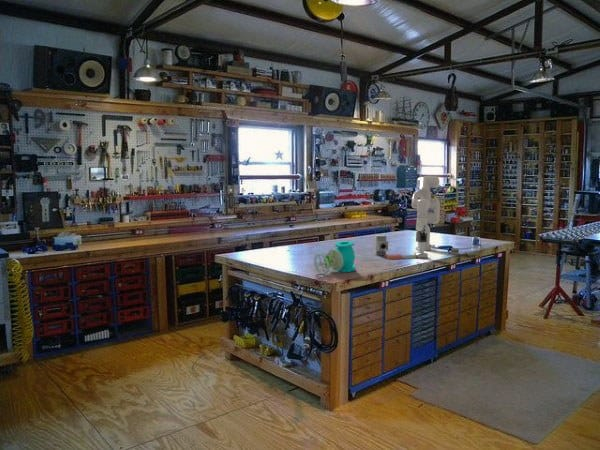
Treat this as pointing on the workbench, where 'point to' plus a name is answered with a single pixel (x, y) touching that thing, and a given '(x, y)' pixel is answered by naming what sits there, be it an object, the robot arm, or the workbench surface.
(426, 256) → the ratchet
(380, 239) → the circuit breaker
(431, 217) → the robot arm
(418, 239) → the socket
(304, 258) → the workbench surface
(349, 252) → the valve
